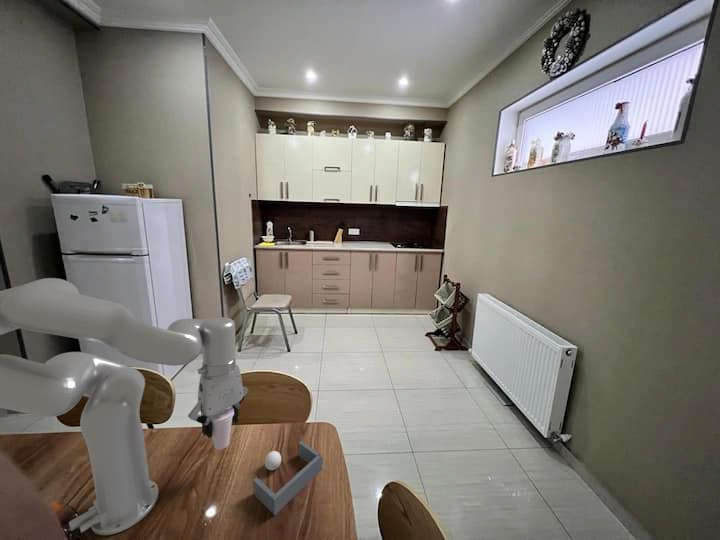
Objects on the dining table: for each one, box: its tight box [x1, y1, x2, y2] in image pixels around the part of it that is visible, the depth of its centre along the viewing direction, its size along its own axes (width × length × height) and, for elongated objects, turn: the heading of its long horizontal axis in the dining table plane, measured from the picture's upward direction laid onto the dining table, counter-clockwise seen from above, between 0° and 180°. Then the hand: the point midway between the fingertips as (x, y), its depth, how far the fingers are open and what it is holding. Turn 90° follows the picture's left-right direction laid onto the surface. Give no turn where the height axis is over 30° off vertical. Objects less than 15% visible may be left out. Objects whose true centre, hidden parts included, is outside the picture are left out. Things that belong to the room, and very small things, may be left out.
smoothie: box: [210, 406, 234, 451], centre depth 76 cm, size 6×6×14 cm
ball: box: [264, 450, 282, 471], centre depth 80 cm, size 4×4×4 cm
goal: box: [252, 440, 323, 516], centre depth 76 cm, size 16×8×4 cm, turn 144°
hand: (221, 427), depth 76 cm, fingers closed on smoothie, 6 cm apart
